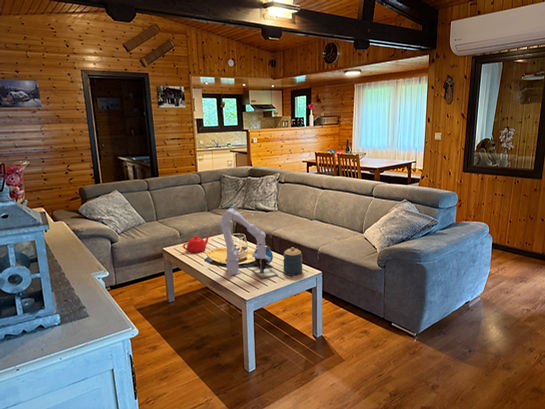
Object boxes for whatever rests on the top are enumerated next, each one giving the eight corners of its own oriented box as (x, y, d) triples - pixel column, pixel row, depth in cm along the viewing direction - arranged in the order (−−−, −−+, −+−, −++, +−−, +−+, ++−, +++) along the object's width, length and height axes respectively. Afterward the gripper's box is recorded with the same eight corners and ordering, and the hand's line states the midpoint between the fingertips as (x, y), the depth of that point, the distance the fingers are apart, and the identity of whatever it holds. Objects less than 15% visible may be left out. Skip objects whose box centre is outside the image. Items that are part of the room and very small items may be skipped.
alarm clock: (273, 265, 261) (272, 245, 258) (268, 267, 256) (267, 247, 253) (259, 261, 269) (258, 242, 266) (253, 264, 264) (253, 244, 261)
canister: (290, 277, 239) (290, 251, 236) (279, 271, 250) (279, 246, 246) (306, 272, 246) (306, 247, 243) (294, 266, 257) (294, 242, 253)
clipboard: (251, 271, 251) (251, 269, 251) (267, 267, 256) (267, 266, 256) (261, 279, 237) (261, 277, 237) (277, 275, 242) (277, 273, 242)
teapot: (188, 256, 283) (187, 241, 280) (179, 251, 294) (177, 237, 292) (215, 248, 299) (215, 234, 297) (205, 244, 311) (204, 231, 308)
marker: (259, 272, 247) (258, 259, 245) (261, 270, 249) (261, 258, 247) (262, 273, 245) (261, 260, 243) (264, 271, 247) (264, 259, 245)
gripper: (249, 249, 245) (249, 268, 248) (265, 253, 236) (266, 272, 239) (255, 246, 250) (256, 265, 253) (272, 250, 241) (273, 269, 244)
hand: (261, 268), depth 246 cm, fingers closed on marker, 3 cm apart
